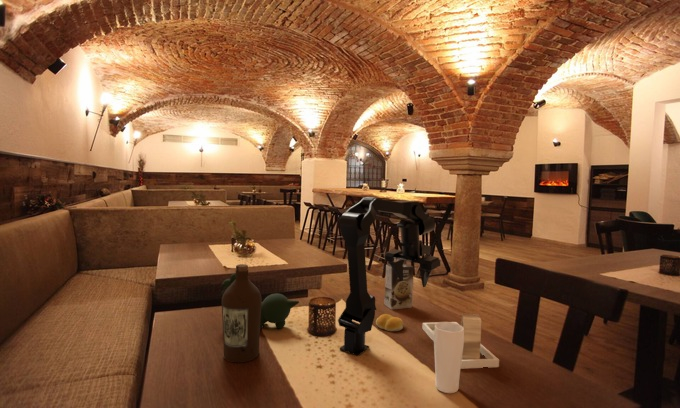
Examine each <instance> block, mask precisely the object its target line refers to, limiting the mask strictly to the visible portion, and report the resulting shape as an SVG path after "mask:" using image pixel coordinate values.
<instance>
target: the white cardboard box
mask: <svg viewBox="0 0 680 408" xmlns="http://www.w3.org/2000/svg"><path fill="white" fill-rule="evenodd" d="M414 269H415V267H414V266H413V265H411V264H407V263H403V281H400V280H399V278H398V276H397V274H396V273H395V271H394V269H393V268H392V267H391V265H390V264H388V263H387V264H386V265H385V284H384V301H383V302H384V306H386V307H387V308H389V309H390V310H399V309H411V308H413V289H414Z"/></svg>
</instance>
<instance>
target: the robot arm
mask: <svg viewBox="0 0 680 408" xmlns="http://www.w3.org/2000/svg"><path fill="white" fill-rule="evenodd" d="M366 211H367V212H366ZM365 212H366V213H365ZM378 212H381V213H382V212H383V213H391V214H393V215H394V216H396V217H399V218H402V219H400V220H399V222H398V223H397V225H396V228H399V229H400V235H401V237H400V238H401V241H400V242H399V244H398V245H399V246H401V250H400V249H392V250H390V251H386V253H385V254H384V261H385V262H387V265H388V264H390V265H391V267H392V268H393V269H394V271H395V273H396V274H397V276H398V278H399V280H400V281H403V264H405V263H404V262H405V261H406V262H409V263H415V264H419V267H420V268H419V275H420V280H421V284H422V287H423V288H426V287H427V283H428V281H429V278H430V275H431V273H432V271H433V270H435V269H437V268H439V267H440V266H441V259H440V258H439V257H437V256H433V255H430V253H431V247H432V246H431V245H428V244H423V240H420V236H422V235H425V234H428V233H430V232H432V231H434V229H435V227H436V223H435V221H434V218H432V217H431V216H430V213H429V212H425V210H424V209H423V208H422V206H421V203H420V201H415V200H403V199H402V200H401V199H400V200H395V201H394V200H389V199H382V198H378V197H377V196H365V197H362V199H361V200H360V201H359V202H357V203H355V204H354V205H352V206H350V207H349V208H348V209H347V210H346V211H345V212H344V213H342V215H341V216H340V217H339V220H338V227H339V230H340V236H341V237H342V238H343V240H344V242H345V244H346V250H347V261H348V262H347V264H348V275H349V276H348V277H349V291H350V292H349V294H348V295H347V298H346V300H345V308H344V309H343V311H342V312H341V314H340V316H339V317H338V319H337V322H338V326H339V327H342V328H344V330H343V331H344V337H343V338H344V339H343V345H342V346H340V347H339V350H340V351H341V352H346V353H349V354H352V355H355V356H359V355H361V354H362V353H364V352H366V351H367V350H368V349H370V345H367V344H366V333H368V332H371V330H372V329H373V324H374V321H375V318H376V317H375V316H376V311H377V306H376V297H375V296H374V295H371V294H370V293H369V292H368V280H367V264H366V250H365V245H366V244H365V243H366V241H367V239H368V238H369V235H370V227H371V225H373V223H374V222H375V221H376V217H377V213H378ZM364 213H365V214H364ZM425 255H427V256H425ZM423 256H425V257H424V258H423Z"/></svg>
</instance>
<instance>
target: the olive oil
mask: <svg viewBox="0 0 680 408" xmlns="http://www.w3.org/2000/svg"><path fill="white" fill-rule="evenodd" d="M248 268H249V265H248V264H245V263H244V264H243V263H242V264H237V265H235V273H236V279H235V281H234V282H233V283H232V284H231V285H230V286H229V287H228V288H227V289H226V290H225V292H224V294H223V295H222V297H221V314H222V315H221V316H222V320H221V321H222V336H223V337H222V338H223V342H222V343H223V358H224V359H225V360H226V361H228V362H232V363H244V362H249V361H252V360H254V359H256V358H257V357H258V356H259V354H260V334H261V333H260V332H261V329H260V319H261V304H262V302H263V301H262V300H263V299H262V295H261V292H260V290H259V288H258V287H257V286H256V285H255V284H254V283H253V282H252V281H251V280H250V279H249V269H248Z"/></svg>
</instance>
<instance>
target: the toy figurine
mask: <svg viewBox="0 0 680 408" xmlns="http://www.w3.org/2000/svg"><path fill="white" fill-rule="evenodd" d="M235 279H236V272H234V273H232V274H231V275H230V277H229V278H226V279H225V280H223V282H222V283H221V284H220V286H221V287H222V288H223V290H222V291H221V295H222V296H223V294H224V292H225V290H226V289H227V288H228V287H229V286H230V285H231V284H232V283H233V282H234V281H235ZM299 303H300V302H299V300H294V299H293V300H292V299H288V297H286V296H285V295H284V294H282V293H272V294H269V295H267V296H266V297H265V298H264V299H263V301H262V304H261V319H260V330H261V329H262V328H264V326H265V324H266V323H267V322H268V323H270V324H274V325H275V327H276V328H277V329H283V328H284V326H286V319H288V317H289V315H290V313H291V310H292V309H293V307H296V306H297V305H298V304H299Z"/></svg>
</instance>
